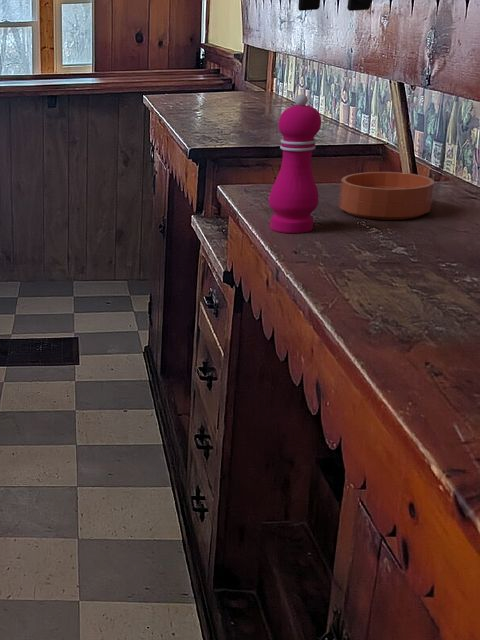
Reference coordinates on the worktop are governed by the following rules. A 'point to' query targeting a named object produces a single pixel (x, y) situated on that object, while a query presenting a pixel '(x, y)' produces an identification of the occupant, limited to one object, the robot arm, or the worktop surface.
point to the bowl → (386, 195)
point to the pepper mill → (296, 170)
